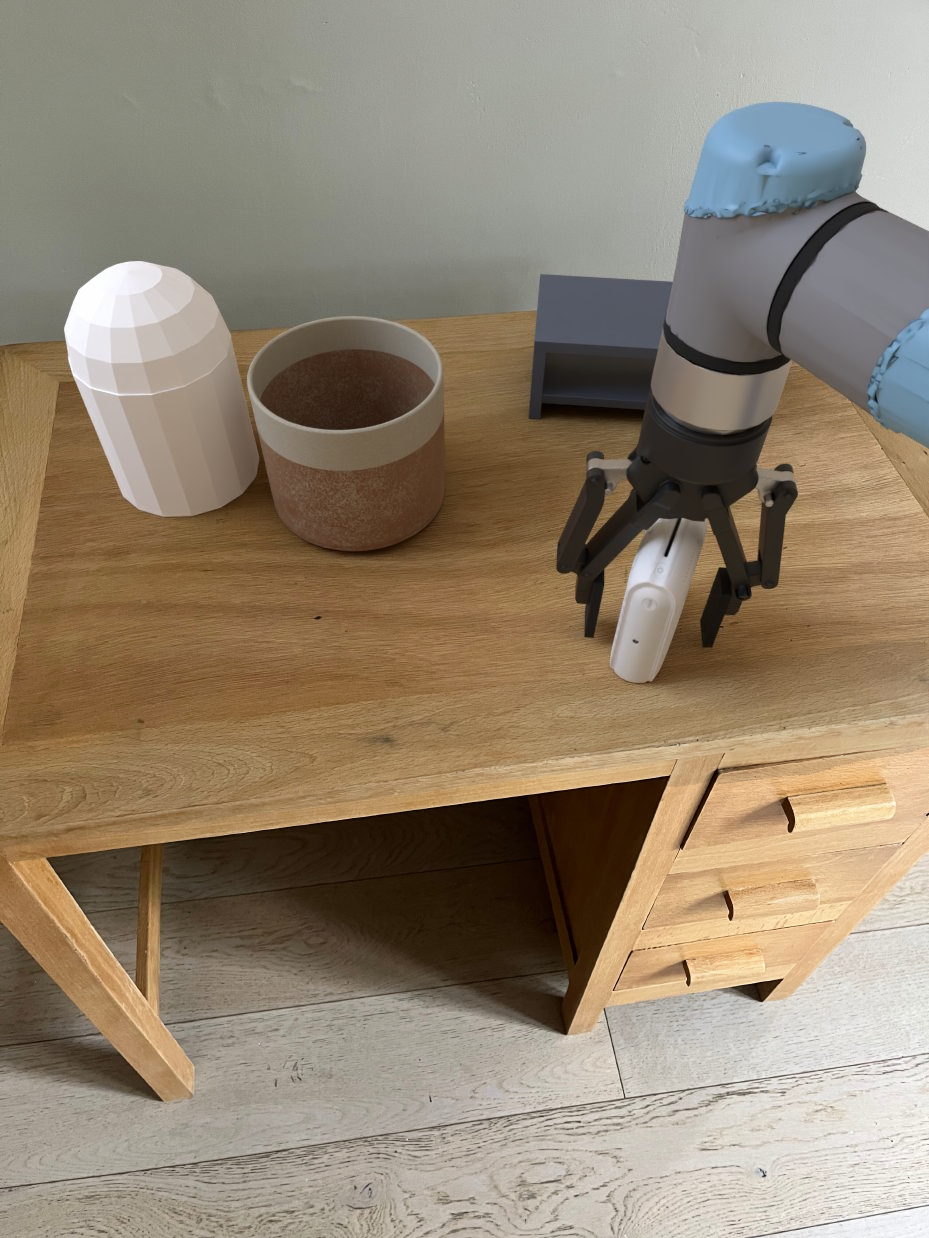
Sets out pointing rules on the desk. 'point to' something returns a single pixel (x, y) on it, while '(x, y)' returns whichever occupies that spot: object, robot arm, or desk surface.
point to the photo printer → (655, 597)
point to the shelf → (596, 341)
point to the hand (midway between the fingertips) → (647, 629)
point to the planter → (351, 430)
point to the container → (162, 388)
